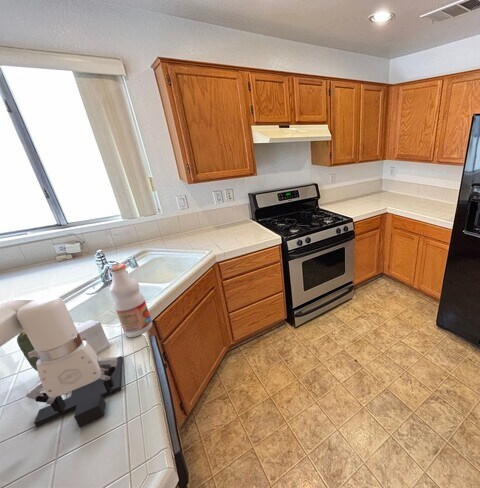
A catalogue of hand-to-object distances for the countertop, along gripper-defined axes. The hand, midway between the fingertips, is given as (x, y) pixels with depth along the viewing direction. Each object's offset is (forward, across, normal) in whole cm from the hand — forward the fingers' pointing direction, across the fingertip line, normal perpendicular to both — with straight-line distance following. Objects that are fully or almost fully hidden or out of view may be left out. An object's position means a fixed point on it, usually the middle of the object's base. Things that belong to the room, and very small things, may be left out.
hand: (87, 399), depth 68 cm
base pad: (+5, -3, +13) cm, 15 cm away
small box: (+5, -3, +33) cm, 34 cm away
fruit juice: (+6, +11, +37) cm, 39 cm away
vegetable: (+5, -15, +30) cm, 34 cm away
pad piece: (+6, 0, 0) cm, 6 cm away
